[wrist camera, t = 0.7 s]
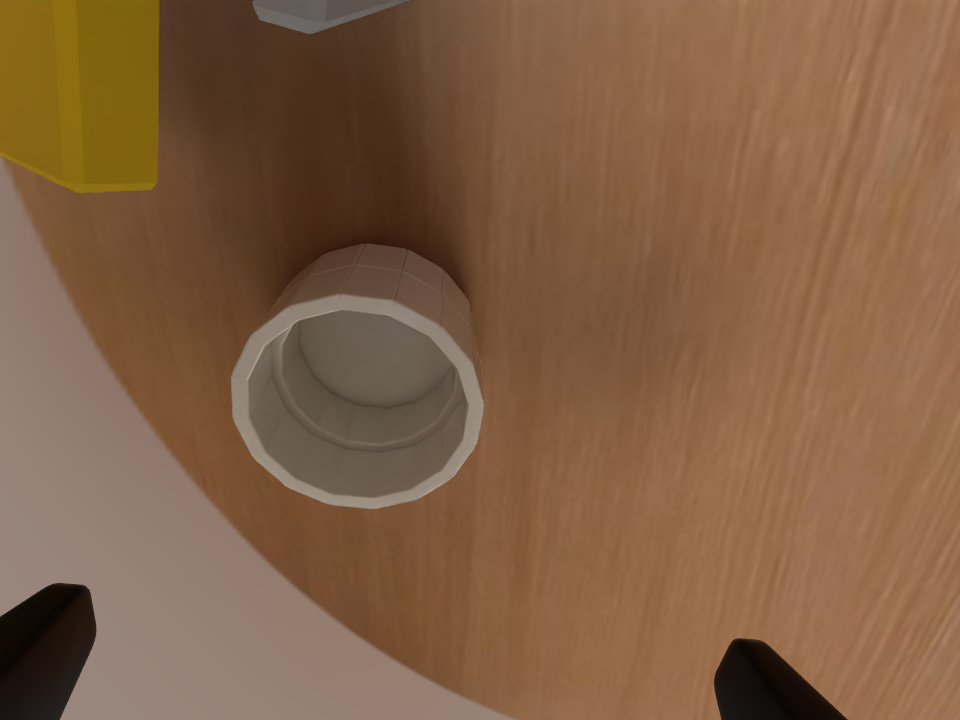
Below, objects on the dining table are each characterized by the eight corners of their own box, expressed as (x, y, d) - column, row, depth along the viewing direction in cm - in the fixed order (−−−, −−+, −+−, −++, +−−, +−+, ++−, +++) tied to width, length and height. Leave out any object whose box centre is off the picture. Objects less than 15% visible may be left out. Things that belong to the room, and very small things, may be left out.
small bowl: (462, 424, 20) (464, 518, 16) (281, 405, 19) (234, 497, 15) (490, 254, 17) (501, 314, 13) (282, 225, 17) (226, 278, 13)
